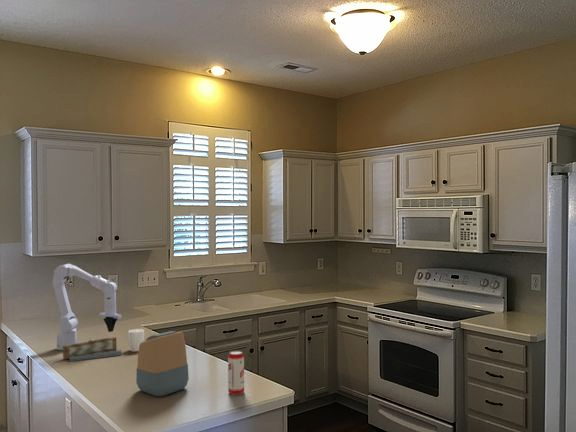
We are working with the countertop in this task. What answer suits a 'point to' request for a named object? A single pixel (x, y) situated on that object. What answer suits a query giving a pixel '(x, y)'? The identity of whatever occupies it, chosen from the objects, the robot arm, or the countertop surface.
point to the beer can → (236, 373)
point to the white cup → (135, 339)
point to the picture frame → (89, 347)
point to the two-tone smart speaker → (162, 364)
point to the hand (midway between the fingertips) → (110, 331)
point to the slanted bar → (95, 355)
